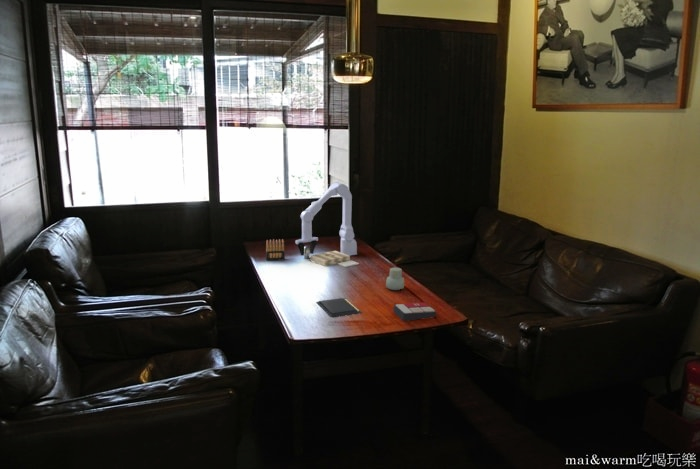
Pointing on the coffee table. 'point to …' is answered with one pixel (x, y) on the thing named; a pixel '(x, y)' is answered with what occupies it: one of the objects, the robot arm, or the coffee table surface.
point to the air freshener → (395, 279)
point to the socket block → (329, 258)
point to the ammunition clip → (275, 250)
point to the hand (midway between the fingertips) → (306, 254)
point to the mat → (348, 263)
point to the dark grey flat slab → (338, 307)
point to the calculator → (413, 311)
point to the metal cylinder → (306, 252)
